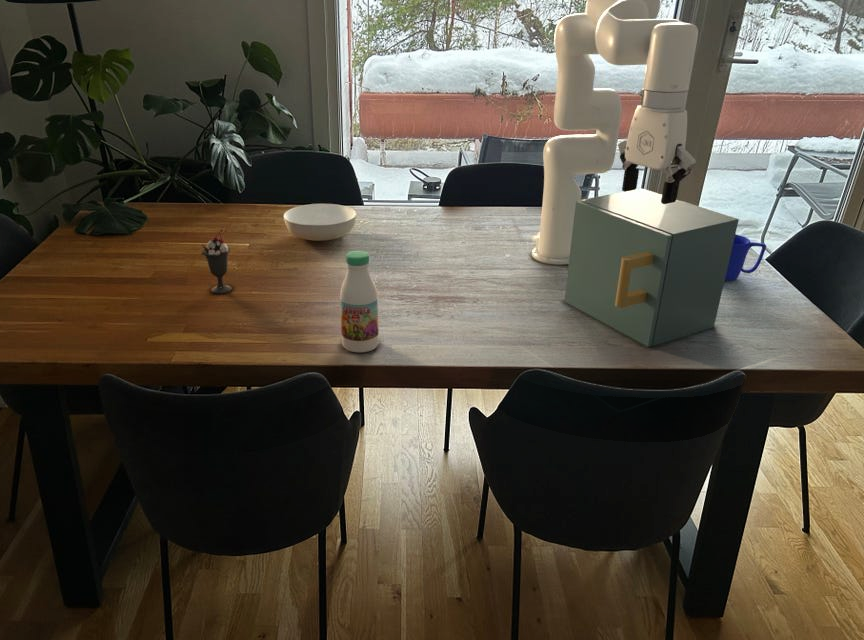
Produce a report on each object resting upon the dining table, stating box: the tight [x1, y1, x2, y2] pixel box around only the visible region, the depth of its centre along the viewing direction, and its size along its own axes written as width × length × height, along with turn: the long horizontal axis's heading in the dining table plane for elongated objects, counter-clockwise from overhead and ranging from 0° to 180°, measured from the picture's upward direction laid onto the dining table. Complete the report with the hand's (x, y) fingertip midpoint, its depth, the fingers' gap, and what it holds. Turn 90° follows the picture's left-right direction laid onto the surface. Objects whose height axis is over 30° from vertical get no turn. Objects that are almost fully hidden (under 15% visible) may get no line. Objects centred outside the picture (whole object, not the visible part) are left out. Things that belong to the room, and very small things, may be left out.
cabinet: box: [580, 188, 740, 347], centre depth 155 cm, size 18×26×24 cm
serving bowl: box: [283, 203, 357, 242], centre depth 208 cm, size 21×21×7 cm
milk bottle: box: [339, 250, 380, 353], centre depth 145 cm, size 8×8×20 cm
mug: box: [724, 234, 767, 282], centre depth 176 cm, size 8×12×10 cm
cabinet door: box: [563, 201, 672, 348], centre depth 150 cm, size 8×26×24 cm, turn 28°
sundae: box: [201, 229, 233, 295], centre depth 173 cm, size 7×7×15 cm
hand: (648, 196), depth 135 cm, fingers open, 9 cm apart
